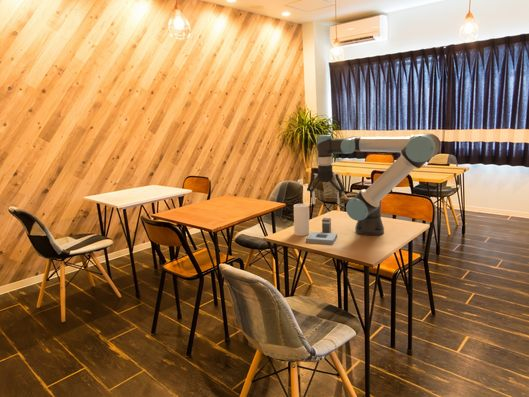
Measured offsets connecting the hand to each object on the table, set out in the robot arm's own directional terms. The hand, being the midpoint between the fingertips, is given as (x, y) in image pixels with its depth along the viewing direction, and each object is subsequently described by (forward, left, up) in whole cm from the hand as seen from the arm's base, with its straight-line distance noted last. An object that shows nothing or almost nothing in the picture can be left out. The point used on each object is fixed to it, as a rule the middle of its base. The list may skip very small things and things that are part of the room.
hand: (326, 203), depth 211 cm
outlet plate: (0, +12, -17) cm, 20 cm away
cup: (+13, +4, -17) cm, 21 cm away
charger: (0, 0, -17) cm, 17 cm away
